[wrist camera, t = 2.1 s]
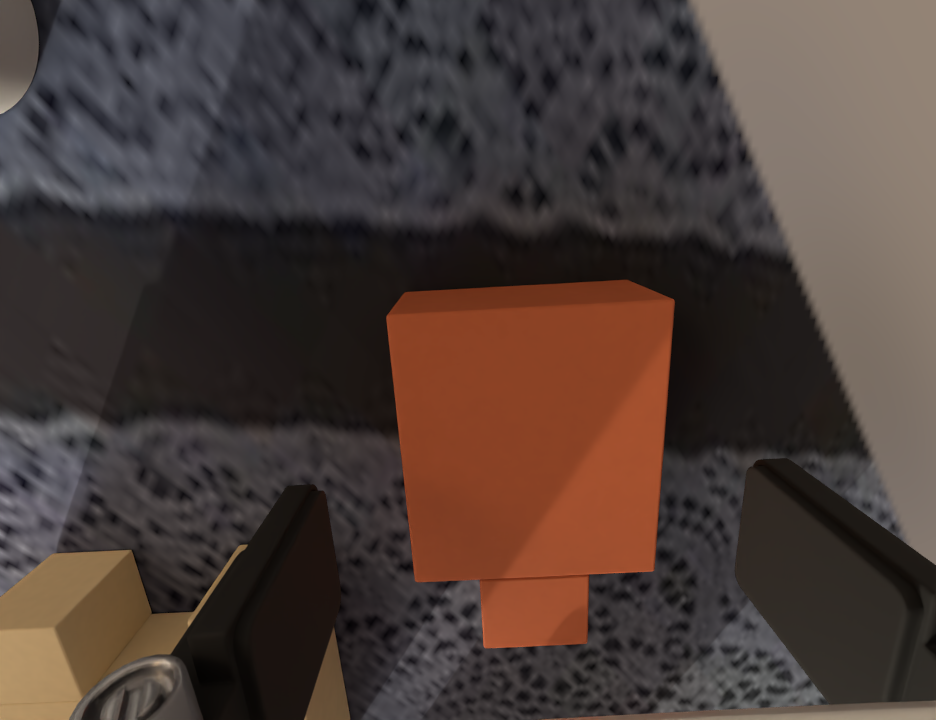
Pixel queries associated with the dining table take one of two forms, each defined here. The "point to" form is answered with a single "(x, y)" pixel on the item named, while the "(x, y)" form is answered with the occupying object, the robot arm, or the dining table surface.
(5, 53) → the cup
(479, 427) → the tab pad
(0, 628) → the notch pad
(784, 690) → the dining table surface
